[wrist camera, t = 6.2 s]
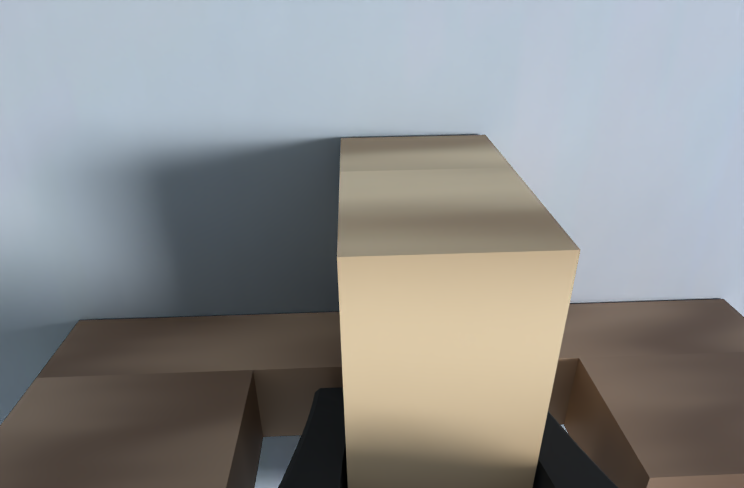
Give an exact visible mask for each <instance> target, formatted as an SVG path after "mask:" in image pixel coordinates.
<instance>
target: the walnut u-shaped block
mask: <svg viewBox="0 0 744 488" xmlns="http://www.w3.org/2000/svg"><path fill="white" fill-rule="evenodd" d="M336 387H343V375H342V353H341V332H340V312H318V313H288V314H258V315H228V316H198V317H168V318H138V319H108V320H79V321H78V323H77V324H76V325H75V327H74V328H73V329H72V331H71V332H70V333H69V335H68V336H67V337H66V339H65V340H64V341H63V343H62V344H61V345H60V347H59V348H58V349H57V351H56V352H55V353H54V355H53V356H52V357H51V359H50V360H49V361H48V363H47V364H46V365H45V367H44V368H43V369H42V371H41V372H40V373H39V375H38V376H37V377H36V379H35V380H34V381H33V383H32V384H31V385H30V387H29V388H28V389H27V391H26V392H25V393H24V395H23V396H22V397H21V399H20V400H19V401H18V403H17V404H16V405H15V407H14V408H13V409H12V411H11V412H10V413H9V415H8V416H7V417H6V419H5V420H4V421H3V423H2V424H1V425H0V488H254V487H255V481H256V475H257V469H258V464H259V458H260V452H261V447H262V441H263V437H271V436H295V435H302V433H303V430H304V427H305V425H306V422H307V419H308V416H309V413H310V410H311V406H312V403H313V398H314V394H315V392H316V391H317V390H318V389H320V388H336ZM548 411H549V412H550V414H551V415H552V416H553V417H554V418H555V419H556V421H557V422H558V423H559V424H560V425H562V424H564V426H565V428H566V430H567V432H568V434H569V436H570V437H571V438H572V439H573V440H574V441H575V442H576V443H577V444H578V446H579V447H580V448H581V449H582V450H583V451H584V452H585V453H586V454H587V455H588V456H589V457H590V458H591V460H592V461H593V462H594V463H595V464H596V465H597V466H598V467H599V468H600V469H601V470H602V471H603V472H604V473H605V474H606V475H607V476H608V478H609V479H610V480H611V481H612V482H613V483H614V484H615V485H616V486H617V487H618V488H744V317H743V316H742V315H741V314H740V313H739V312H738V311H736V310H735V309H734V308H733V307H732V306H731V305H730V304H729V303H727V302H726V301H725V300H724V299H708V300H678V301H648V302H618V303H588V304H569V309H568V314H567V319H566V323H565V328H564V333H563V338H562V343H561V348H560V353H559V358H558V363H557V368H556V373H555V378H554V383H553V388H552V393H551V398H550V403H549V408H548Z"/></svg>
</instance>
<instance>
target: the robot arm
mask: <svg viewBox="0 0 744 488" xmlns="http://www.w3.org/2000/svg"><path fill="white" fill-rule="evenodd" d="M278 488H348V481H347V460H346V438H345V417H344V396H343V387H336V388H320V389H318V390H317V391H316V392H315V394H314V398H313V403H312V406H311V410H310V413H309V416H308V419H307V422H306V425H305V427H304V430H303V433H302V435H301V438H300V440H299V443H298V445H297V448H296V450H295V452H294V454H293V457H292V459H291V461H290V463H289V466H288V468H287V470H286V473H285V475H284V477H283V479H282V481H281V483H280V485H279V487H278ZM532 488H618V487H617V486H616V485H615V484H614V483H613V482H612V481H611V480H610V479H609V478H608V476H607V475H606V474H605V473H604V472H603V471H602V470H601V469H600V468H599V467H598V466H597V465H596V464H595V463H594V462H593V461H592V460H591V458H590V457H589V456H588V455H587V454H586V453H585V452H584V451H583V450H582V449H581V448H580V447H579V446H578V444H577V443H576V442H575V441H574V440H573V439H572V438H571V437H570V436H569V434H568V433H567V432H566V431H565V430H564V429H563V428H562V426H561V425H560V424H559V423H558V422H557V421H556V419H555V418H554V417H553V416H552V415H551V414H550V412H549V411H548V413H547V418H546V423H545V428H544V433H543V438H542V443H541V448H540V453H539V458H538V463H537V468H536V472H535V477H534V482H533V487H532Z"/></svg>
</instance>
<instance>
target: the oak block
mask: <svg viewBox="0 0 744 488" xmlns="http://www.w3.org/2000/svg"><path fill="white" fill-rule="evenodd" d="M579 254H580V249H579V248H578V247H577V245H576V244H575V243H574V242H573V240H572V239H571V238H570V237H569V236H568V234H567V233H566V232H565V231H564V230H563V228H562V227H561V226H560V225H559V224H558V222H557V221H556V220H555V219H554V217H553V216H552V215H551V214H550V213H549V211H548V210H547V209H546V208H545V207H544V205H543V204H542V203H541V202H540V200H539V199H538V198H537V197H536V196H535V194H534V193H533V192H532V191H531V190H530V188H529V187H528V186H527V185H526V184H525V182H524V181H523V180H522V179H521V177H520V176H519V175H518V174H517V173H516V171H515V170H514V169H513V168H512V167H511V165H510V164H509V163H508V162H507V161H506V159H505V158H504V157H503V156H502V154H501V153H500V152H499V151H498V150H497V148H496V147H495V146H494V145H493V144H492V142H491V141H490V140H489V139H488V137H487V136H486V135H459V136H413V137H367V138H341V148H340V179H339V210H338V241H337V268H338V289H339V311H340V332H341V353H342V375H343V396H344V417H345V438H346V460H347V481H348V488H532V487H533V482H534V477H535V472H536V468H537V463H538V458H539V453H540V448H541V443H542V438H543V433H544V428H545V423H546V418H547V413H548V408H549V403H550V398H551V393H552V388H553V383H554V378H555V373H556V368H557V363H558V358H559V353H560V348H561V343H562V338H563V333H564V328H565V323H566V319H567V314H568V309H569V304H570V299H571V294H572V289H573V284H574V279H575V274H576V269H577V264H578V259H579Z"/></svg>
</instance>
